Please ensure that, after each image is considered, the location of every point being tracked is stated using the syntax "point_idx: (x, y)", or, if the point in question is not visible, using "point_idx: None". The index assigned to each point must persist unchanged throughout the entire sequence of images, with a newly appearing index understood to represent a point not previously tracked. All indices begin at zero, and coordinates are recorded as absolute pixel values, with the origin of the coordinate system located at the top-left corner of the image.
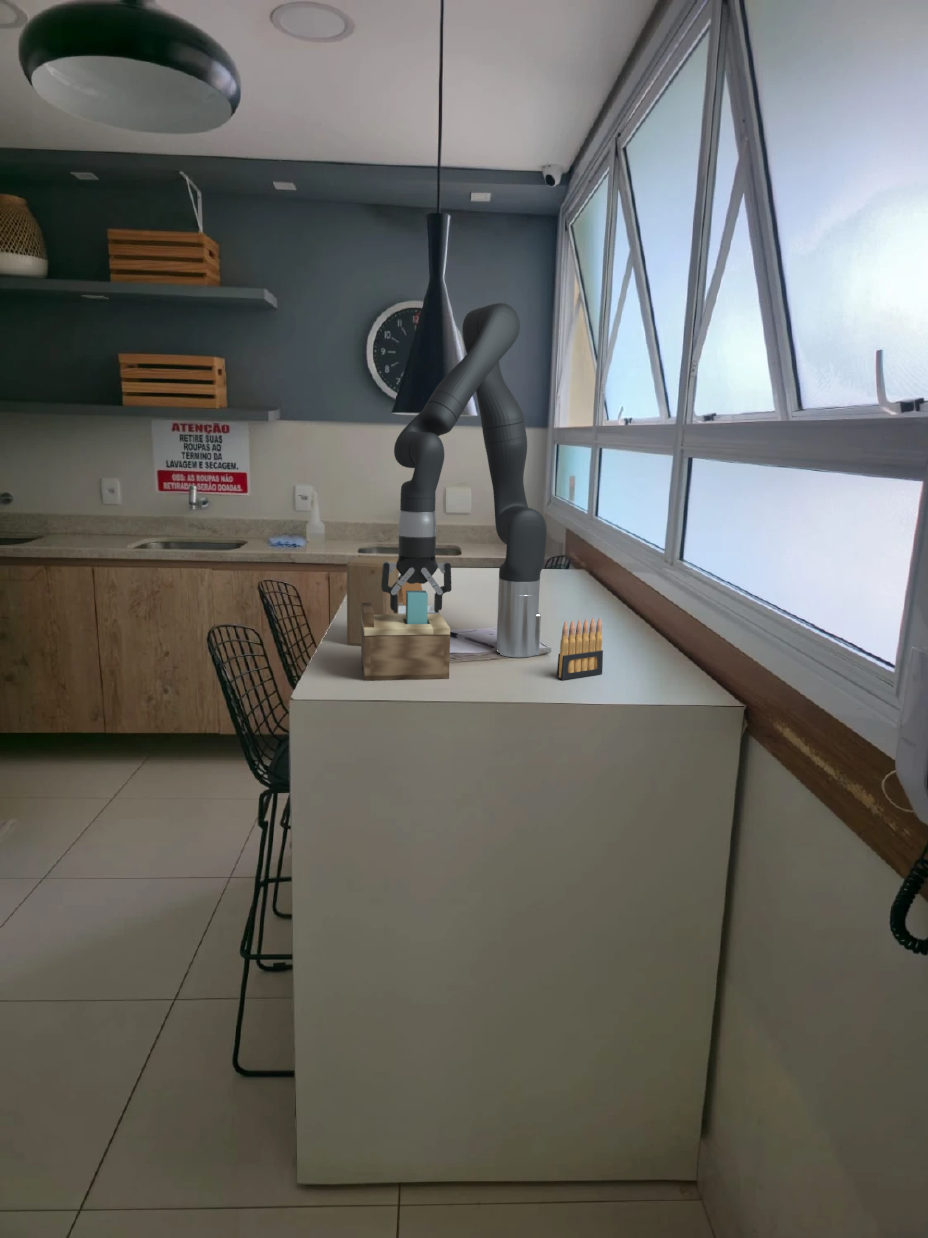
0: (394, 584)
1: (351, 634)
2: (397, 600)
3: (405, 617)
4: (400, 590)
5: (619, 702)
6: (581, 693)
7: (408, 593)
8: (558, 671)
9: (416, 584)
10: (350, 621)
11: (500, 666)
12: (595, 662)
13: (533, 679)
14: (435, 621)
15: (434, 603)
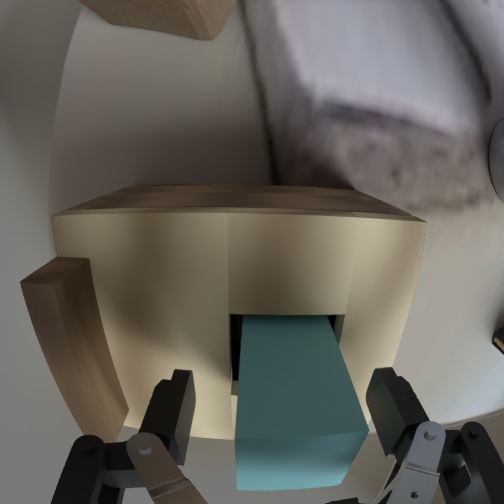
0: (147, 485)
1: (105, 17)
2: (186, 445)
3: (245, 288)
4: None
5: (477, 412)
6: (471, 394)
7: (241, 482)
8: (501, 337)
9: None
10: (83, 2)
11: (462, 262)
12: None
13: (464, 344)
14: (359, 363)
15: (385, 394)
